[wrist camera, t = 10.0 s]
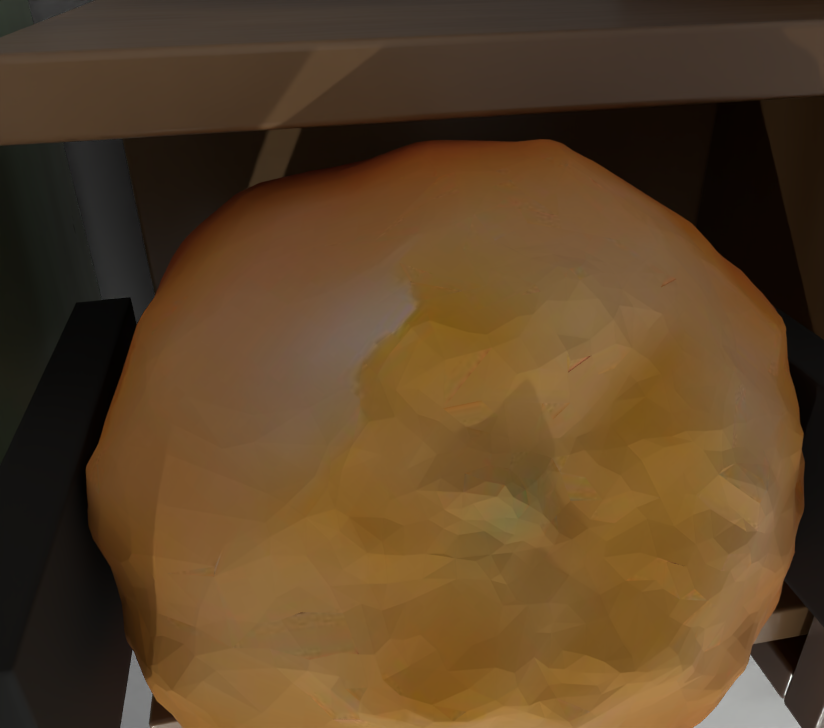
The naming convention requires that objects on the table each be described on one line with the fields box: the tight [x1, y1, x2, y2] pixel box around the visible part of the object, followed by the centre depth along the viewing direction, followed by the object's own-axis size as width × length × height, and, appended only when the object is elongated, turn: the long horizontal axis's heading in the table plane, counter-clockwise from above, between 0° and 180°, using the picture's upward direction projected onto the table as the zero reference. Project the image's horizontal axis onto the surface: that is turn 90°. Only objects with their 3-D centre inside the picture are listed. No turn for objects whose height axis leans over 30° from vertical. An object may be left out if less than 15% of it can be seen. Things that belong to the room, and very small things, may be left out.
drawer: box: [0, 0, 824, 728], centre depth 13 cm, size 20×11×9 cm, turn 91°
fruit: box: [86, 139, 805, 728], centre depth 10 cm, size 8×8×8 cm
